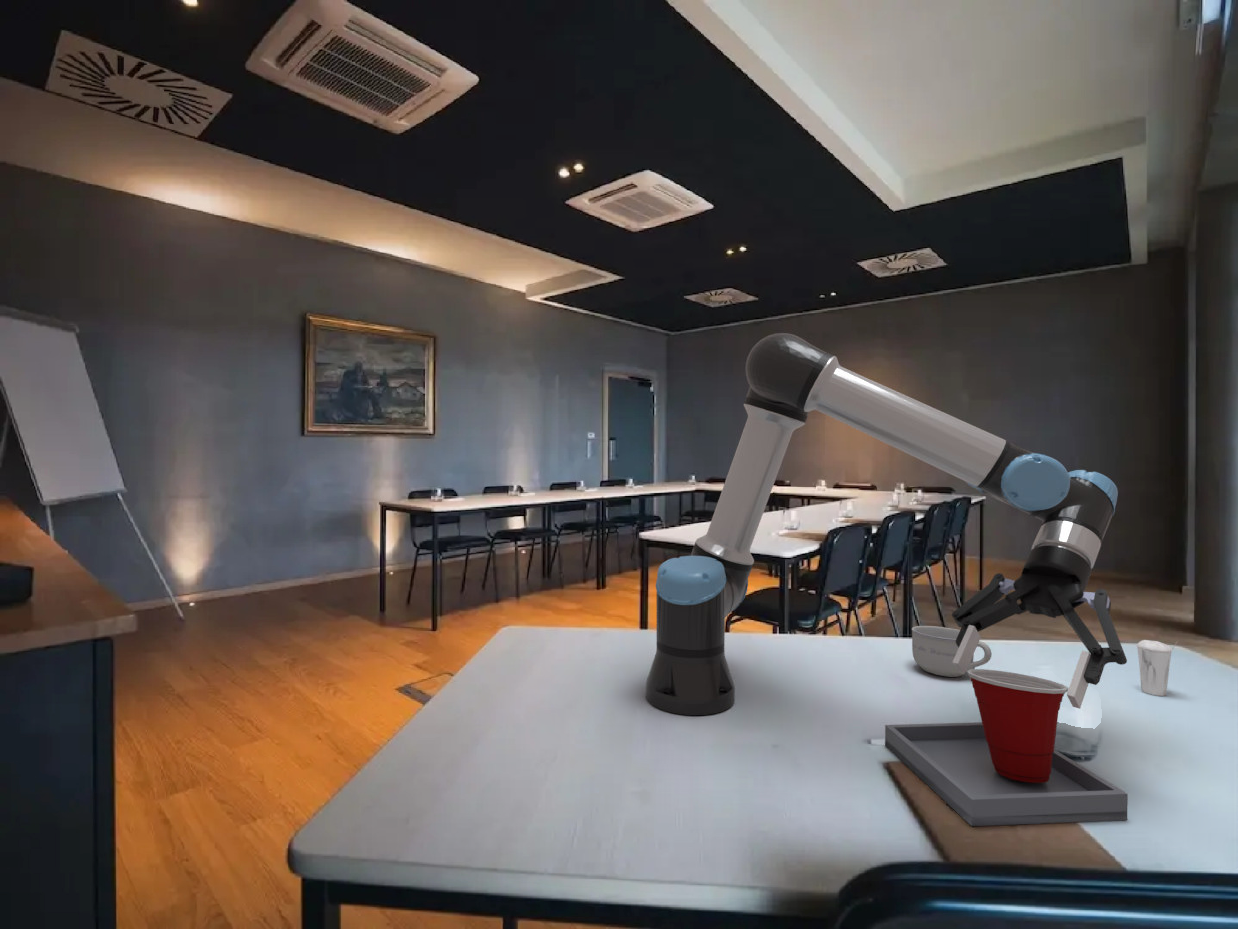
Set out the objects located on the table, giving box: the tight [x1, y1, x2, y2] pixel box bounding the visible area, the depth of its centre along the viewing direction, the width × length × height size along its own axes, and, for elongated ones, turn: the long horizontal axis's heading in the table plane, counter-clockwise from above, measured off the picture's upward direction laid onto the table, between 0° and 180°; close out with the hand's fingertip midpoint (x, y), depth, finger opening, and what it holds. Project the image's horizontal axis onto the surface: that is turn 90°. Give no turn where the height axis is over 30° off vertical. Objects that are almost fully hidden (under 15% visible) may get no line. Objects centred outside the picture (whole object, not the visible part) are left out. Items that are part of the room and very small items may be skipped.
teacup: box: [911, 625, 992, 678], centre depth 113 cm, size 14×11×8 cm
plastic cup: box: [966, 668, 1069, 783], centre depth 75 cm, size 11×11×12 cm
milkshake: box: [1136, 639, 1179, 697], centre depth 104 cm, size 4×5×10 cm
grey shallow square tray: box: [884, 721, 1129, 827], centre depth 76 cm, size 19×19×3 cm
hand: (1011, 684), depth 78 cm, fingers open, 13 cm apart
